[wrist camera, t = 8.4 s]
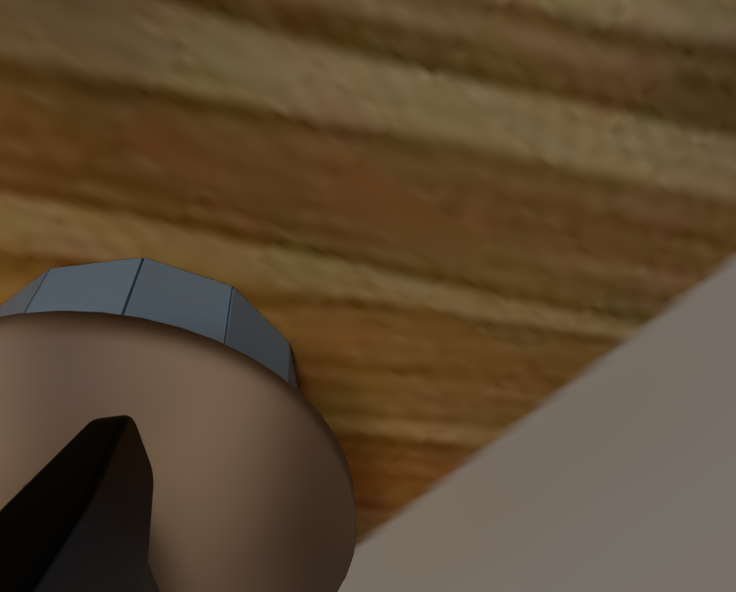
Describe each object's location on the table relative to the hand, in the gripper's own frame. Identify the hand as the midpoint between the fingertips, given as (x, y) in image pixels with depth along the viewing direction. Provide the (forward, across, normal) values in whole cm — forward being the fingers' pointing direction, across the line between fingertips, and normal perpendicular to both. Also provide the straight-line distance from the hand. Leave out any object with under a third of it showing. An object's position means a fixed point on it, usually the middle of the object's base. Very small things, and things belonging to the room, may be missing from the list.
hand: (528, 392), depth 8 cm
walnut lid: (+7, +9, +9) cm, 14 cm away
